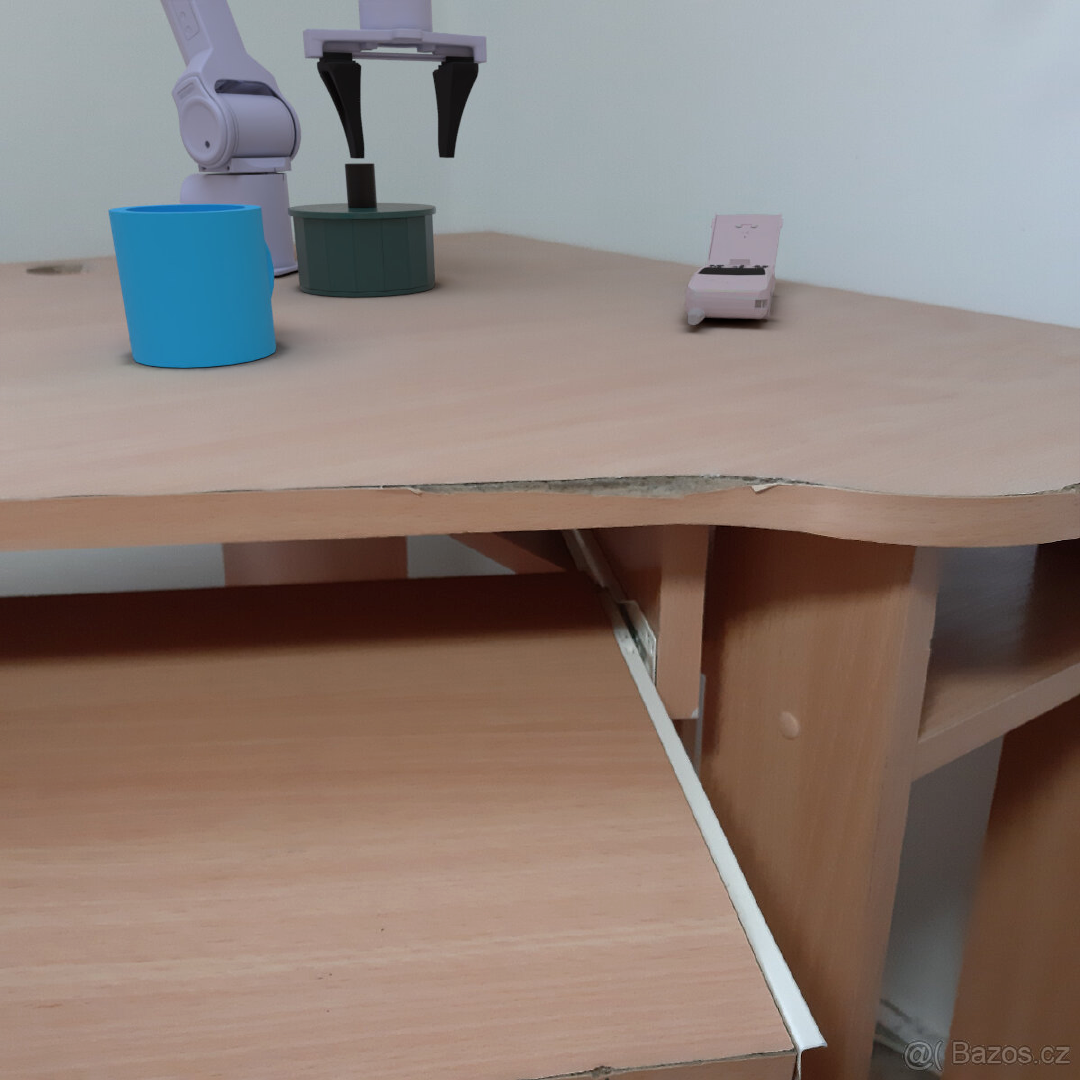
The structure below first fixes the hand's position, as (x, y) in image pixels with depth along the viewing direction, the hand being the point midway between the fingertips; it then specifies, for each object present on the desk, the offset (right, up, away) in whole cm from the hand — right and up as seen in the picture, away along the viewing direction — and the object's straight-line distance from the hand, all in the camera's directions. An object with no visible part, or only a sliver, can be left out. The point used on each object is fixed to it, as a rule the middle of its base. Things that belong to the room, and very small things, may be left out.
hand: (402, 158), depth 79 cm
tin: (-3, -10, +3) cm, 11 cm away
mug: (-8, -20, -21) cm, 30 cm away
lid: (-3, -4, 0) cm, 6 cm away
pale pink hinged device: (+26, -14, -6) cm, 30 cm away
